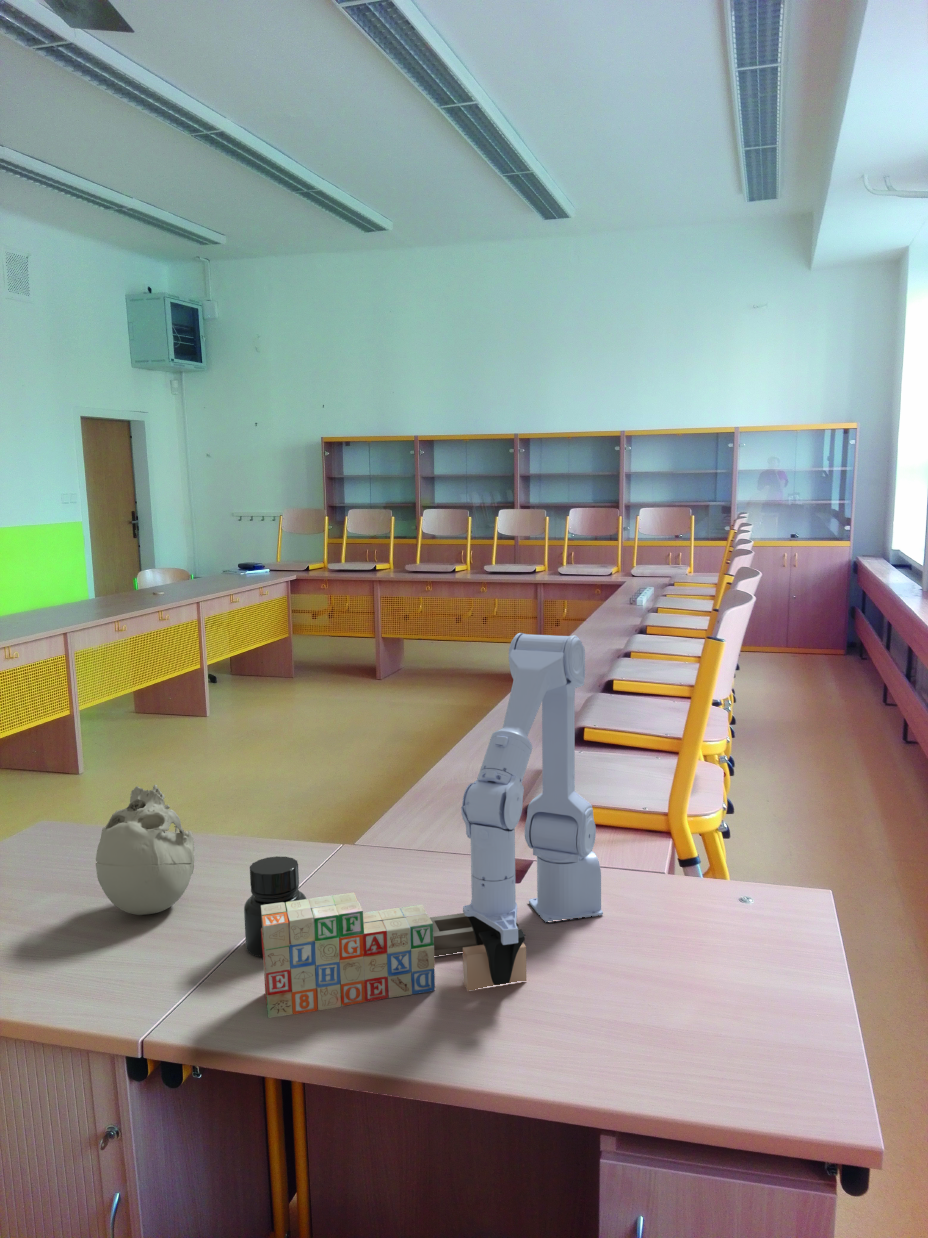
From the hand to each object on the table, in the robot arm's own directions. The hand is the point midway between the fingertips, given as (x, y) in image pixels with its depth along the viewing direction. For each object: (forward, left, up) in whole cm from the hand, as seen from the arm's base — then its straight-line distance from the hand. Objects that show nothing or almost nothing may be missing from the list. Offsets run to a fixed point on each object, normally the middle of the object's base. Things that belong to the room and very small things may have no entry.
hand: (494, 972), depth 119 cm
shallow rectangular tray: (0, -12, -1) cm, 12 cm away
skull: (+46, -36, -2) cm, 58 cm away
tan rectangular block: (0, 0, -2) cm, 2 cm away
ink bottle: (+27, -19, -2) cm, 33 cm away
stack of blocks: (+19, -3, -2) cm, 19 cm away
